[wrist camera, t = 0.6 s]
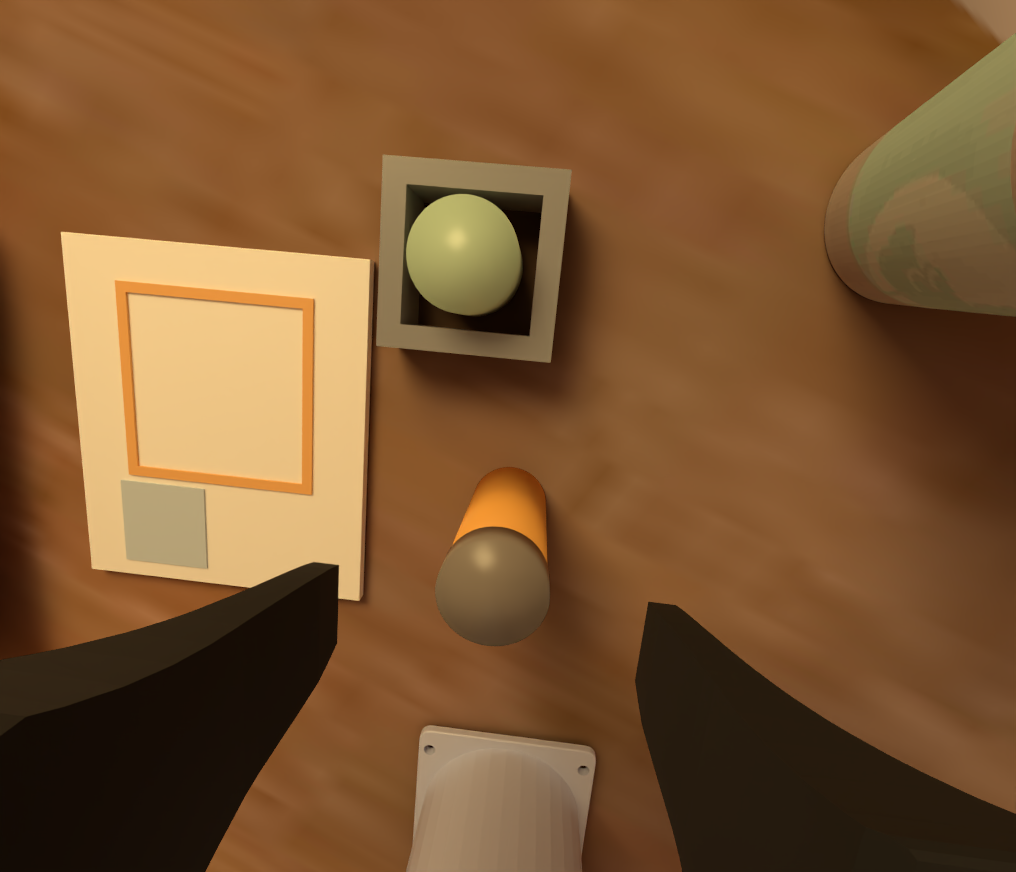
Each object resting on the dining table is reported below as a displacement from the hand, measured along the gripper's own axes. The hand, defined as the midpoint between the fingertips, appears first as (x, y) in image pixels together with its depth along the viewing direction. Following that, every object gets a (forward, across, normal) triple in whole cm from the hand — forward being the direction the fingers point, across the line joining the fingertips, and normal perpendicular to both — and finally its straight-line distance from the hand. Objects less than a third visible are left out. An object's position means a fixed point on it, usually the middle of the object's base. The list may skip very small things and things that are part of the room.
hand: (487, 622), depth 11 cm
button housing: (+9, +2, -9) cm, 13 cm away
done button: (+9, +2, -9) cm, 13 cm away
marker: (+9, 0, 0) cm, 9 cm away
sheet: (+9, +12, -2) cm, 15 cm away
